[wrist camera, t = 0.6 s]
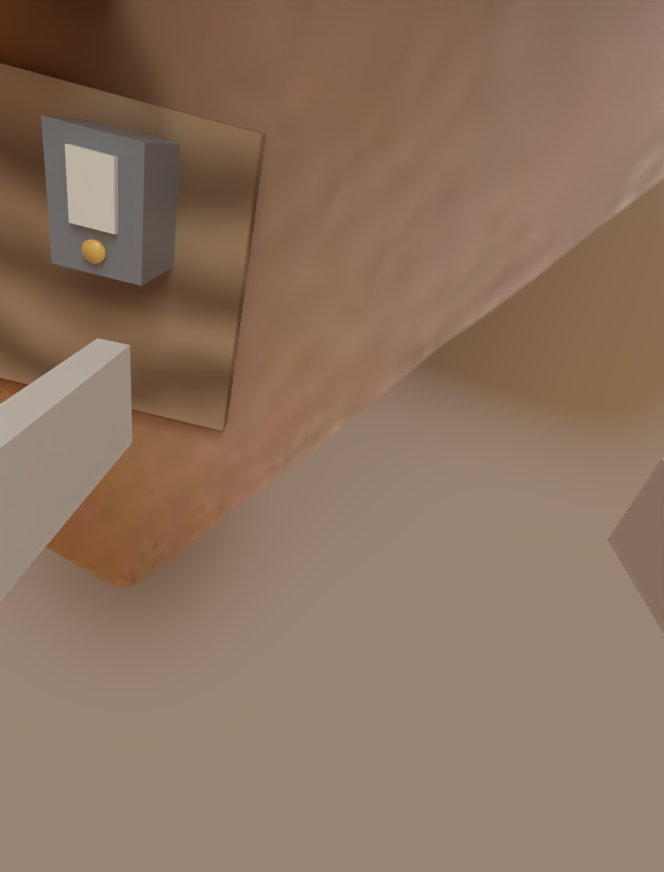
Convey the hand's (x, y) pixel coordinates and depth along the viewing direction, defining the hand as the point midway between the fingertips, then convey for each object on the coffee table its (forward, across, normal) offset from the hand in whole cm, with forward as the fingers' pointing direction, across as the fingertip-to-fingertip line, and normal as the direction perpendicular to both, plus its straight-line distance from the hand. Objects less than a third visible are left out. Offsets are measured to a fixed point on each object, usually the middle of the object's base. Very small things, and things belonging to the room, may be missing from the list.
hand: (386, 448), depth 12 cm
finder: (+21, -15, +1) cm, 26 cm away
